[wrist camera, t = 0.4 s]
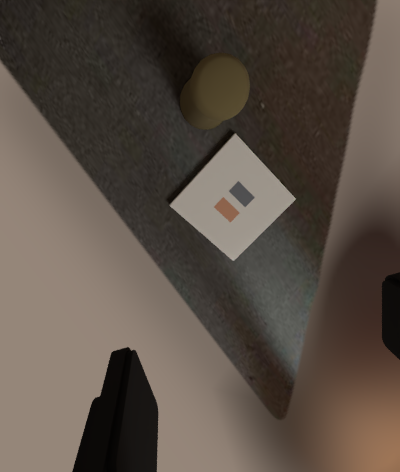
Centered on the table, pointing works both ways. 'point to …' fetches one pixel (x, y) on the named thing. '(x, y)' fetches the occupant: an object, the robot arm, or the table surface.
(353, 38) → the table surface
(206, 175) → the tile
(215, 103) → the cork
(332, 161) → the table surface
